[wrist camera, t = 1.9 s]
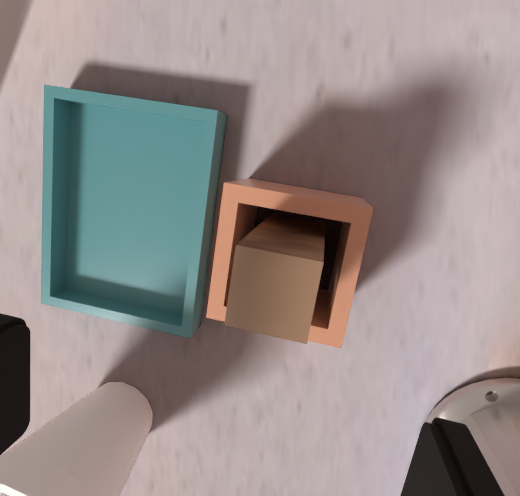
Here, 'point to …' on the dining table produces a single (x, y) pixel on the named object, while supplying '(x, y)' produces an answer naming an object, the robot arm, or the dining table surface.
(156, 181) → the tray
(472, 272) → the dining table surface
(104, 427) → the foam cup
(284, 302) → the walnut stick
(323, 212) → the holder cup
